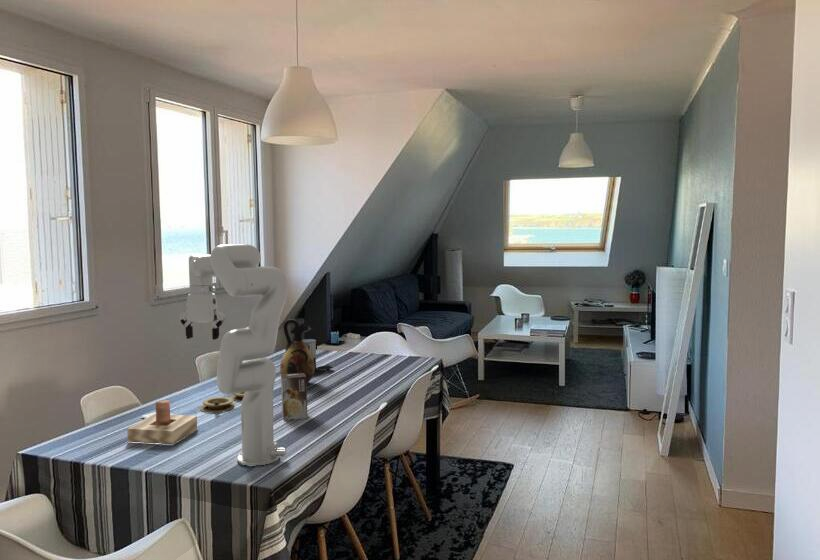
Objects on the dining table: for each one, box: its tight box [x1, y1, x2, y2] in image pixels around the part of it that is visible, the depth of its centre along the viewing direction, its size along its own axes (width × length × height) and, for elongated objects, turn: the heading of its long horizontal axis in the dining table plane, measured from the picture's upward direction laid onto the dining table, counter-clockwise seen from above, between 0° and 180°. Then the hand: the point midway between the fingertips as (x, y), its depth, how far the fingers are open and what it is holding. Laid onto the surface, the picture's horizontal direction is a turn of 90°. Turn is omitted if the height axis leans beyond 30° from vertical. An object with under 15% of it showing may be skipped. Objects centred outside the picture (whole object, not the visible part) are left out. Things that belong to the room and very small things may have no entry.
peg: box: [155, 399, 171, 426], centre depth 206 cm, size 4×4×12 cm
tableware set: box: [199, 392, 246, 413], centre depth 246 cm, size 30×20×6 cm, turn 152°
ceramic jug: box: [279, 318, 316, 387], centre depth 272 cm, size 17×15×30 cm
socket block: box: [126, 414, 198, 444], centre depth 206 cm, size 16×16×5 cm
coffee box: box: [280, 373, 308, 421], centre depth 227 cm, size 9×6×16 cm
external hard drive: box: [140, 411, 176, 419], centre depth 226 cm, size 2×8×12 cm
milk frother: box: [302, 338, 333, 371], centre depth 300 cm, size 14×16×15 cm
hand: (202, 338), depth 212 cm, fingers open, 9 cm apart
